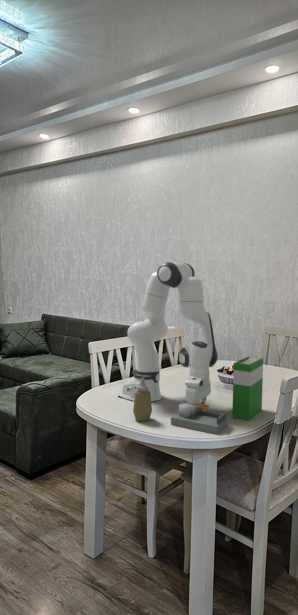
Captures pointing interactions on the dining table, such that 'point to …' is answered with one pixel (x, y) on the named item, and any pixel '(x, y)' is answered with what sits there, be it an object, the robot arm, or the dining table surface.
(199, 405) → the chute
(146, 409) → the squeeze bottle
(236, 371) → the hardback book
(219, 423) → the panel with grey ball
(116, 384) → the dining table surface
